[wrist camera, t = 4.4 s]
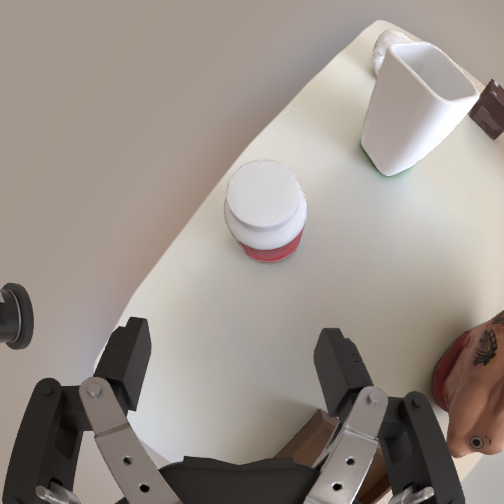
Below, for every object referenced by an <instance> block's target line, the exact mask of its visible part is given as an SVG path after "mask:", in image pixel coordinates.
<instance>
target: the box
mask: <svg viewBox="0 0 504 504" xmlns="http://www.w3.org/2000/svg"><path fill="white" fill-rule="evenodd" d="M470 117H471V118H472V119H473V120H474V121H475V122H476V123H478V124H479V125H480V126H481V127H482V128H483V129H484V130H485V131H486V132H487V133H488V134H489V136H490V137H491V138H492V139H493V140H495V139H496V138H497V137H498V136H499V135H500V134H501V133H502V132H503V131H504V89H503V88H502V87H501V86H500V85H499V84H498V83H497V82H496V81H494V80H493V79H491V81H490V82H489V84H488V85H487V86H486V88H485V89H484V90H483V92H482V93H481V95H480V96H479V99H478V100H477V102H476V103H475V104H474V105H473V108H472V111H471V113H470Z"/></svg>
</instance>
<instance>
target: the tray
mask: <svg viewBox="0 0 504 504" xmlns="http://www.w3.org/2000/svg"><path fill="white" fill-rule="evenodd" d="M338 422H339V419H337V418H335V417H331V418H330V416H329V414H328V413H326V412H325V411H323V410H321V409H319V410H318V412H317V413H316V414H315V415H314V416H313V417H312V418H311V420H310V421H309V422H308V423H307V424H306V425H305V426H304V427H303V428H302V429H301V431H300V432H299V433H298V434H297V435H296V436H295V437H294V438H293V439H292V440H291V441H290V442H289V443H288V444H287V445H286V446H285V447H284V448H283V449H282V450H281V451H280V452H279V453H278V454H277V455H276V456H275V457H274V458H286V457H294V462H295V463H300V464H304V465H307V466H310V467H312V466H313V464H314V463H315V461H316V460H317V459H318V457H319V456H320V454H321V453H322V451H323V450H324V448H325V446H326V444H327V443H328V441H329V439H330V437H331V435H332V433H333V432H334V430H335V428H336V426H337V424H338ZM376 440H378V439H376ZM390 490H391V485H390V481H389V476H388V472H387V468H386V465H385V461H384V457H383V453H382V450H381V446H380V442H379V440H378V446H377V449H376V452H375V454H374V457H373V459H372V461H371V464H370V466H369V468H368V471H367V473H366V475H365V477H364V480H363V482H362V484H361V486H360V488H359V490H358V492H357V494H356V496H355V499H356V500H358V501H359V502H361V503H362V504H375V503H376V502H378V501H379V500H380V499H381V498H382V497H383V496H384V495H385V494H387V493H388V492H389V491H390Z"/></svg>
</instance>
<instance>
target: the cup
mask: <svg viewBox="0 0 504 504" xmlns="http://www.w3.org/2000/svg"><path fill="white" fill-rule="evenodd" d="M478 99H479V92H478V89H477V87H476V86H475V85H474V83H473V82H472V81H471V80H470V79H469V77H468V76H467V75H466V74H465V73H464V72H463V71H462V70H461V69H460V68H459V67H458V66H457V65H456V64H455V63H454V62H453V61H452V60H451V59H450V58H449V57H448V56H447V55H446V54H445V53H444V52H443V51H441V50H440V49H439V48H437V47H436V46H434V45H432V44H430V43H427V42H423V41H417V42H397V43H391V44H389V46H388V48H387V51H386V54H385V57H384V60H383V62H382V65H381V68H380V71H379V74H378V77H377V80H376V83H375V86H374V89H373V92H372V96H371V99H370V103H369V106H368V109H367V113H366V118H365V122H364V126H363V132H362V137H361V145H362V147H363V149H364V150H365V151H366V153H367V154H368V156H369V157H370V158H371V160H372V161H373V163H374V164H375V166H376V167H377V169H378V170H379V171H380V172H381V173H382V174H384V175H387V176H392V175H395V174H397V173H399V172H401V171H403V170H405V169H408V168H410V167H411V166H413V165H414V164H415V163H417V162H418V161H419V160H421V159H422V158H423V157H424V156H426V155H427V154H428V153H429V152H430V151H431V150H433V149H434V148H435V147H436V146H437V145H438V144H439V143H440V142H441V141H442V140H443V139H444V138H445V137H446V136H447V135H448V134H449V133H450V132H451V131H452V130H453V129H454V128H455V127H456V126H457V124H458V123H459V122H460V121H461V120H462V119H463V118H464V117H465V115H466V114H467V113H468V112H469V110H470V109H471V108H472V107H473V105H474V104H475V103H476V102H477V100H478Z"/></svg>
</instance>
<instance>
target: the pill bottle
mask: <svg viewBox="0 0 504 504" xmlns="http://www.w3.org/2000/svg"><path fill="white" fill-rule="evenodd" d="M224 216H225V221H226V224H227V226H228V228H229V230H230V232H231V233H232V235H233V236H234V238H235V239H236V240H237V242H238V243H239V245H240V246H241V248H242V250H243V251H244V252H245V253H246V254H247V255H248V256H249V257H250V258H251V259H253V260H255V261H257V262H259V263H263V264H275V263H279V262H282V261H284V260H286V259H287V258H289V257H290V256H291V255H292V254H293V253H294V251H295V250H296V248H297V246H298V244H299V241H300V238H301V235H302V232H303V228H304V225H305V221H306V217H307V202H306V198H305V195H304V193H303V191H302V189H301V188H300V186H299V183H298V180H297V178H296V176H295V175H294V174H293V172H292V171H291V170H290V169H289V168H287V167H286V166H285V165H283V164H281V163H279V162H276V161H272V160H256V161H252V162H249V163H247V164H245V165H243V166H242V167H240V168H239V169H238V170H237V171H236V172H235V173H234V174H233V175H232V177H231V178H230V180H229V182H228V185H227V191H226V199H225V203H224Z"/></svg>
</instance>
